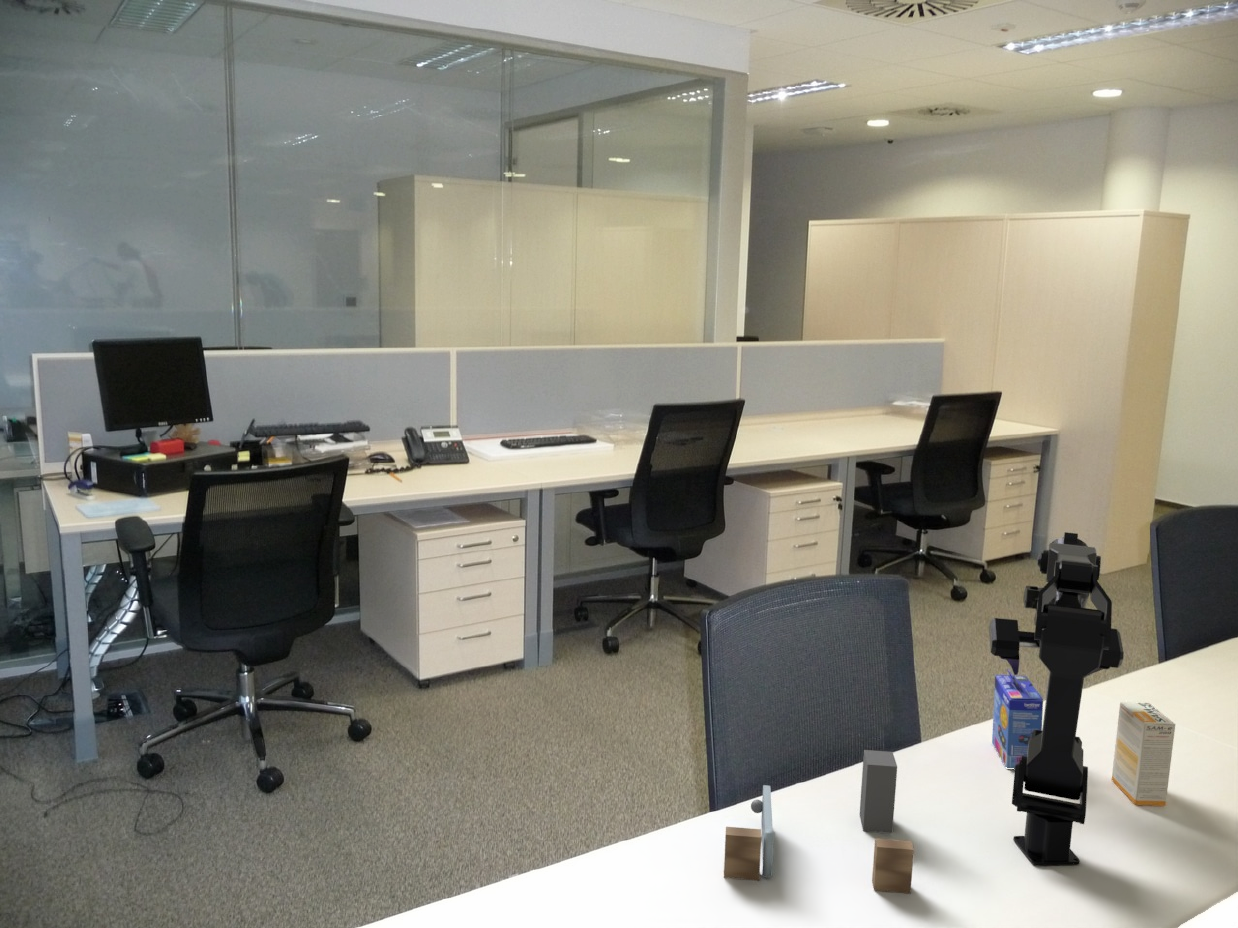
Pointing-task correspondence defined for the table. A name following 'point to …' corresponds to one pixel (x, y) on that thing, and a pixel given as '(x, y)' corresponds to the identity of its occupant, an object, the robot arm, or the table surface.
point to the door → (765, 829)
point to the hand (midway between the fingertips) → (1045, 675)
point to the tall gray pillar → (878, 791)
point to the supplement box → (1143, 753)
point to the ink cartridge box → (1015, 717)
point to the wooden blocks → (887, 866)
